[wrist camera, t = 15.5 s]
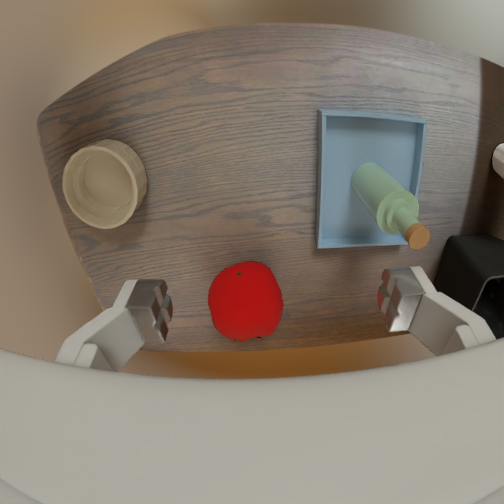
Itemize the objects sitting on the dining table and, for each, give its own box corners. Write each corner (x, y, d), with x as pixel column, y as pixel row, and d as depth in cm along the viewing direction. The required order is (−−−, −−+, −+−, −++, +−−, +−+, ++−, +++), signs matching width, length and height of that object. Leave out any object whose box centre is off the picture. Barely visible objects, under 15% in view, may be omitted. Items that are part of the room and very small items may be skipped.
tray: (317, 109, 36) (321, 111, 34) (419, 117, 36) (427, 120, 33) (315, 240, 48) (317, 248, 46) (402, 236, 47) (408, 244, 45)
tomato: (237, 241, 52) (238, 296, 60) (186, 279, 43) (196, 335, 51) (302, 266, 46) (293, 323, 54) (257, 316, 38) (255, 370, 45)
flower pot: (415, 299, 56) (445, 360, 42) (437, 221, 45) (487, 279, 31) (476, 290, 55) (509, 340, 41) (501, 220, 44) (548, 267, 30)
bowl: (70, 146, 39) (53, 156, 35) (140, 130, 38) (127, 138, 34) (89, 217, 46) (76, 232, 42) (156, 210, 45) (146, 225, 41)
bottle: (352, 161, 40) (401, 213, 26) (388, 163, 40) (447, 213, 25) (349, 198, 43) (390, 264, 29) (384, 198, 43) (434, 261, 29)
